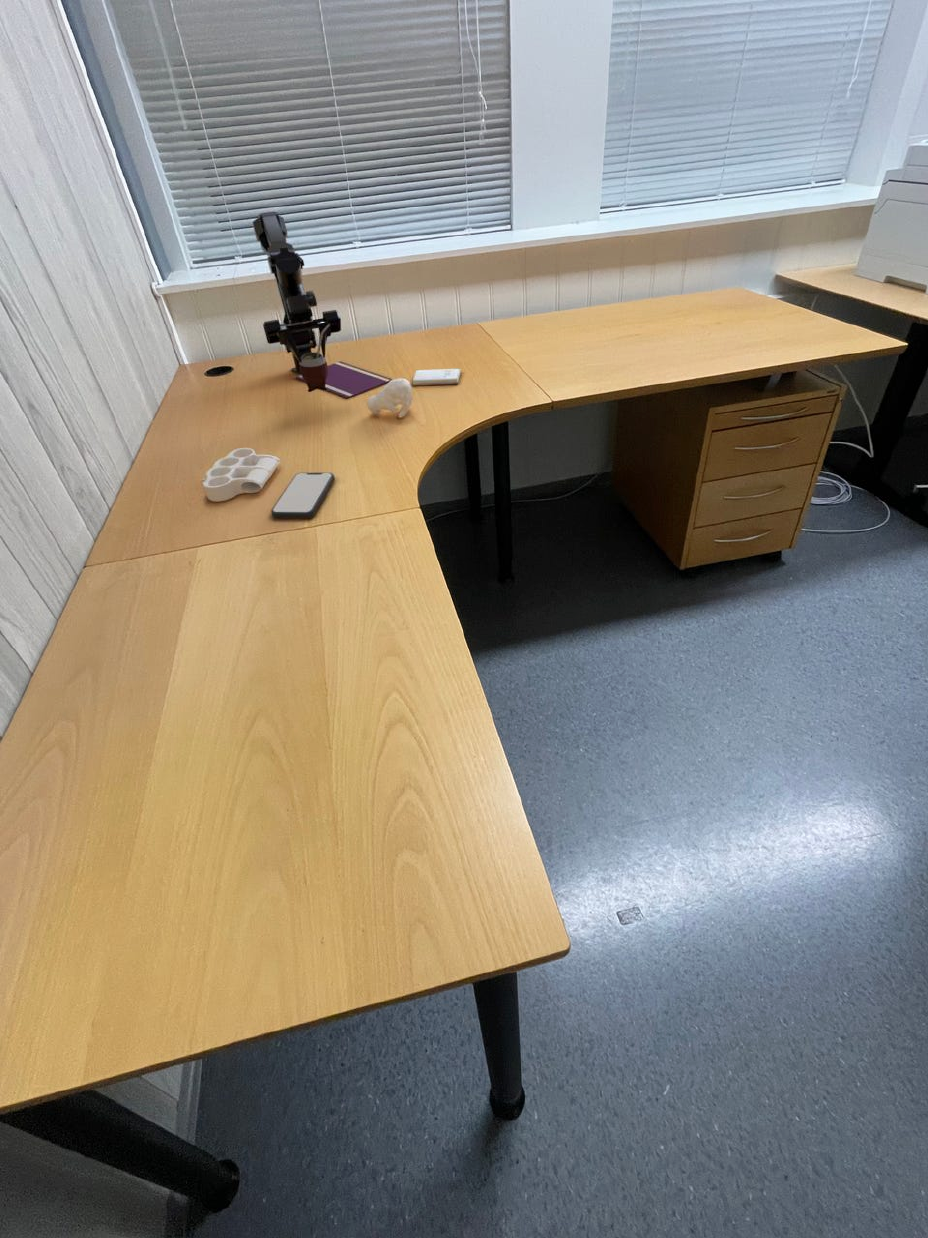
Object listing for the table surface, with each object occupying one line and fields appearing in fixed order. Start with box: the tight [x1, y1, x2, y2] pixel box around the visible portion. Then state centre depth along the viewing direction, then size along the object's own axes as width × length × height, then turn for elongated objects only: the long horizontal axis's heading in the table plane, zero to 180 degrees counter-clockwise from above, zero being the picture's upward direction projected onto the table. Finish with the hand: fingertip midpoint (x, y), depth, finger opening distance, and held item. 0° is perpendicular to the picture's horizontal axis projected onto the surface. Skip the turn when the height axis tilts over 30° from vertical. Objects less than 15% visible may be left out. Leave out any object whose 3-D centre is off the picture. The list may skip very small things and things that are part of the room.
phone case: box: [270, 472, 335, 520], centre depth 123 cm, size 9×2×16 cm
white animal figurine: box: [366, 378, 413, 419], centre depth 150 cm, size 6×8×12 cm
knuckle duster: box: [201, 447, 281, 503], centre depth 130 cm, size 3×18×15 cm
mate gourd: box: [299, 324, 330, 393], centre depth 151 cm, size 8×8×15 cm
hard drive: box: [412, 368, 461, 386], centre depth 168 cm, size 2×8×12 cm
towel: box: [295, 361, 394, 400], centre depth 174 cm, size 26×16×1 cm, turn 44°
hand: (312, 358), depth 149 cm, fingers closed on mate gourd, 6 cm apart
